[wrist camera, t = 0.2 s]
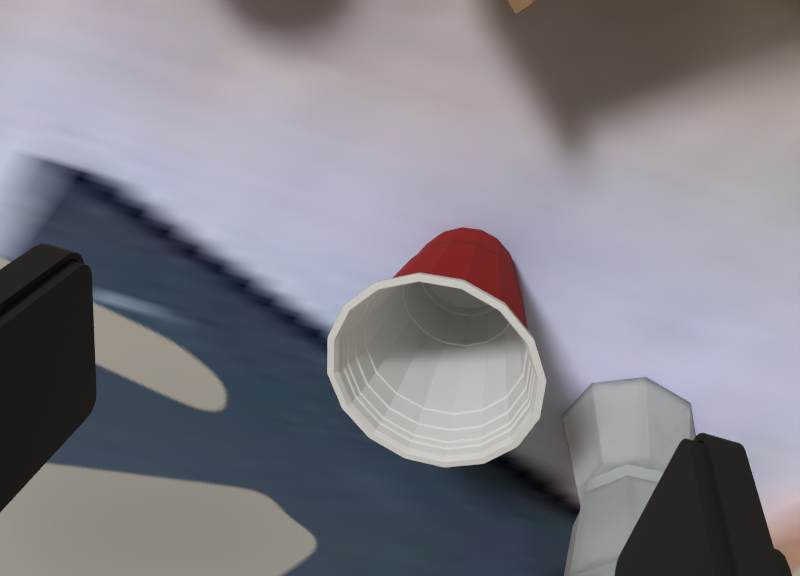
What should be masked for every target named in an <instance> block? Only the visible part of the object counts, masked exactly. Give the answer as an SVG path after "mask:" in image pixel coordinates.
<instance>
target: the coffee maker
mask: <svg viewBox="0 0 800 576" xmlns="http://www.w3.org/2000/svg"><path fill="white" fill-rule="evenodd" d="M562 418H563V423H564V428H565V433H566V438H567V443H568V448H569V453H570V457H571V462H572V467H573V472H574V477H575V482H576V487H577V492H578V496H579V501H580V505H581V509H580V512H579V514H578V517H577V519H576V521H575V523H574V525H573V529H572V534H571V540H570V545H569V551H568V556H567V562H566V567H565V573H564V576H615V569H616V564H617V561H618V558H619V555H620V553H621V551H622V549H623V548H624V546H625V544H626V542H627V540H628V538H629V536H630V534H631V533H632V531H633V529H634V527H635V525H636V523H637V521H638V519H639V518H640V516H641V514H642V512H643V510H644V508H645V506H646V505H647V503H648V501H649V499H650V497H651V495H652V493H653V491H654V490H655V488H656V486H657V484H658V482H659V480H660V478H661V477H662V475H663V473H664V471H665V469H666V467H667V465H668V463H669V462H670V460H671V458H672V456H673V454H674V452H675V450H676V449H677V447H678V445H679V443H680V442H681V441H682V440H683V439H685V438H687V439H690V440H694V438H695V437H696V435H695V429H694V423H693V416H692V410H691V404H690V402H688V401H686V400H684V399H683V398H681V397H679V396H677V395H676V394H674V393H672V392H670V391H669V390H667V389H665V388H664V387H662V386H660V385H658V384H657V383H655V382H653V381H651V380H650V379H648V378H646V377H643V378H635V379H626V380H617V381H609V382H600V383H592V384H591V385H590V386H589V387H588V388H587V389H586V390H585V391H584V393H583V394H582V395H581V396H580V397H579V398H578V399H577V400H576V401H575V403H574V404H573V405H572V406H571V407H570V408H569V409H568V410H567V411H566V412H565V414H564V415H563V416H562Z"/></svg>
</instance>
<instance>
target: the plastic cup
mask: <svg viewBox="0 0 800 576" xmlns="http://www.w3.org/2000/svg"><path fill="white" fill-rule="evenodd" d="M327 374H328V376H329V378H330V381H331V383H332V385H333V388H334V390H335V393H336V395H337V397H338V400H339V402H340V404H341V407H342V409H343V410H344V411H345V412H346V413H347V414H348V415H349V416H350V417H351V419H352V420H353V421H354V422H355V423H356V424H357V425H358V426H359V427H360V428H361V429H362V431H363V432H364V433H365V434H366V435H367V436H368V437H369V438H370V439H372V440H374V441H376V442H377V443H379V444H381V445H383V446H384V447H386V448H388V449H389V450H391V451H393V452H395V453H396V454H398V455H400V456H402V457H403V458H406V459H410V460H414V461H419V462H423V463H427V464H432V465H436V466H440V467H455V466H465V465H476V464H484V463H486V462H488V461H490V460H492V459H494V458H496V457H498V456H500V455H502V454H504V453H506V452H508V451H510V450H512V449H514V448H516V447H518V446H519V444H520V443H521V442H522V440H523V439H524V438H525V437H526V435H527V434H528V433H529V431H530V430H531V429H532V428H533V426H534V425H535V424H536V422H537V421H538V420H539V418H540V415H541V409H542V403H543V398H544V392H545V386H546V377H545V374H544V371H543V367H542V364H541V361H540V357H539V354H538V351H537V347H536V344H535V341H534V338H533V336H532V335H531V333H530V332H529V331H528V329H527V323H526V317H525V311H524V306H523V300H522V294H521V291H520V288H519V285H518V281H517V275H516V271H515V268H514V264H513V261H512V258H511V255H510V254H509V252H508V251H507V250H506V248H505V247H504V246H503V245H502V244H501V243H500V242H499V240H498V239H497V238H495V237H493V236H491V235H489V234H487V233H486V232H484V231H482V230H478V229H470V228H458V229H454V230H450V231H446V232H444V233H441V234H440V235H439V236H437V237H436V238H434V239H433V240H432V241H430V242H429V243H428V244H426V246H425V247H424V248H423V249H422V250H421V251H420V252H419V253H418V254H417V255H416V256H415V257H413V258H412V259H411V260H410V261H409V262H408V263H407V264H406V265H405V266H404V267H403V268H402V269H401V270H400V271H399V272H398V273H397V274H396V275H395V276H394V277H393V278H391V279H386V280H381V281H378V282H375V283H374V284H372V285H371V286H370V287H368V288H367V289H366V290H364V291H363V292H361V293H360V294H359V295H357V296H356V297H355V298H353V299H352V300H351V301H349V302H348V303H346V304H345V305H344V306H343V308H342V310H341V312H340V314H339V316H338V318H337V320H336V322H335V324H334V326H333V328H332V330H331V332H330V334H329V336H328V365H327Z"/></svg>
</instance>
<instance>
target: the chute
mask: <svg viewBox="0 0 800 576" xmlns="http://www.w3.org/2000/svg"><path fill="white" fill-rule="evenodd" d="M507 1H508V2H509V4H510V6H511V7H512V9H513V11H514V12H515V14H517V13H518V12H520V11H521V10H523V9H524V8H526V7H527V6H529V5H530V4H532V3H533V2H534V1H535V0H507Z"/></svg>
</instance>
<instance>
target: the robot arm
mask: <svg viewBox="0 0 800 576" xmlns="http://www.w3.org/2000/svg"><path fill="white" fill-rule="evenodd" d="M95 401H96V371H95V347H94V321H93V295H92V274H91V269H90V267H89V266H87V265H85V264H84V262H83V259H82V257H81V255H80V254H78V253H76V252H73V251H69V250H66V249H62V248H59V247H55V246H52V245H49V244H39V245H37V246H35V247H33V248H32V249H30V250H29V251H27V252H26V253H24V254H23V255H21V256H20V257H18V258H17V259H15V260H14V261H12V262H11V263H9V264H8V265H6V266H5V267H3V268H2V269H1V270H0V512H1V511H2V510H3V509H4V508H5V506H6V505H7V504H8V503H9V502H10V501H11V500H12V499H13V498H14V497H15V496H16V494H17V493H18V492H19V491H20V490H21V489H22V488H23V487H24V486H25V485H26V484H27V483H28V481H29V480H30V479H31V478H32V477H33V476H34V475H35V474H36V473H37V472H38V471H39V470H40V468H41V467H42V466H43V465H44V464H45V463H46V462H47V461H48V460H49V459H50V458H51V456H52V455H53V454H54V453H55V452H56V451H57V450H58V449H59V448H60V447H61V446H62V445H63V443H64V442H65V441H66V440H67V439H68V438H69V437H70V436H71V435H72V434H73V433H74V431H75V430H76V429H77V428H78V427H79V426H80V425H81V424H82V423H83V422H84V421H85V419H86V418H87V417H88V416H89V414H90V413H91V411H92V409H93V407H94V404H95ZM615 576H792V574H791V571H790V568H789V565H788V563H787V561H786V558H785V556H784V555H783V554H782V553H781V552H780V551H779V550H776V549H774V547H773V544H772V540H771V537H770V533H769V530H768V526H767V523H766V520H765V516H764V513H763V509H762V506H761V503H760V499H759V496H758V492H757V489H756V485H755V482H754V479H753V475H752V472H751V468H750V465H749V461H748V458H747V455H746V451H745V449H744V447H743V446H742V445H741V444H740V443H736V442H733V441H729V440H726V439H722V438H719V437H715V436H712V435H708V434H705V433H699V434H698V435H697V436H696V437H695V438H694V440H690V439H687V438H685V439H683V440H682V441H681V442H680V443H679V445H678V447H677V449H676V450H675V452H674V454H673V456H672V458H671V460H670V462H669V463H668V465H667V467H666V469H665V471H664V473H663V475H662V477H661V478H660V480H659V482H658V484H657V486H656V488H655V490H654V491H653V493H652V495H651V497H650V499H649V501H648V503H647V505H646V506H645V508H644V510H643V512H642V514H641V516H640V518H639V519H638V521H637V523H636V525H635V527H634V529H633V531H632V533H631V534H630V536H629V538H628V540H627V542H626V544H625V546H624V548H623V549H622V551H621V553H620V555H619V558H618V561H617V564H616V569H615Z"/></svg>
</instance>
